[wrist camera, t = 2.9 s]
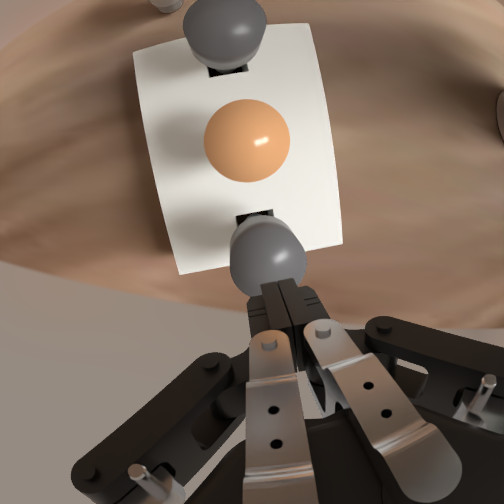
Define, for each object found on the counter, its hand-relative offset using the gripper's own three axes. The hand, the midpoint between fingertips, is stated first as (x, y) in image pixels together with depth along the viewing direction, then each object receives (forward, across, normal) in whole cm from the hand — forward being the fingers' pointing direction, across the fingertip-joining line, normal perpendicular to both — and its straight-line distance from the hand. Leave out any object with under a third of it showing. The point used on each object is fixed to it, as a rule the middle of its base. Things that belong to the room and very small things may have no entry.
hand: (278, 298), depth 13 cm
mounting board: (+16, 0, -7) cm, 17 cm away
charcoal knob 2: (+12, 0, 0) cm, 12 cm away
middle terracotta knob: (+12, 0, -7) cm, 14 cm away
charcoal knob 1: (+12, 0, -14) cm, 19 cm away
